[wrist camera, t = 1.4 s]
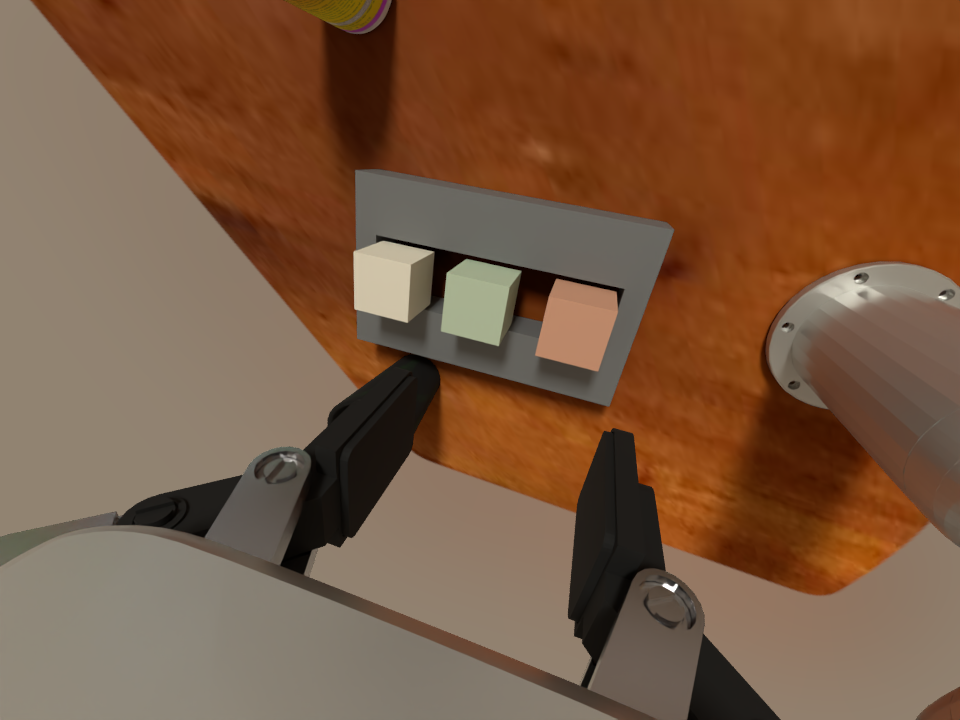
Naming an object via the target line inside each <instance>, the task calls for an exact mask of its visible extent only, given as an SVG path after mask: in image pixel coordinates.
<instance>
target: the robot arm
mask: <svg viewBox="0 0 960 720" xmlns="http://www.w3.org/2000/svg"><path fill="white" fill-rule="evenodd" d="M857 274H858V276H857V277H856V278H854V277H855V276H856V275H857ZM785 323H787V324H786V325H785V326H783V325H784V324H785ZM765 352H766V359H767V364H768V366H769V369H770V371H771V374H772V375H773V376H774V378H775V379H776V381H777V382H778V383H779V384H780V386H781V387H782V388H783V389H784V390H785V391H786V392H787V393H789V394H790V395H792V396H793V397H795V398H796V399H798V400H800V401H802V402H804V403H807V404H809V405H811V406H815V407H819V408H823V409H828V410H830V411H831V412H832V413H833V414H834V415H835V417H836V418H837V419H838V420H839V421H840V422H841V423H842V424H843V425H844V427H845V428H846V429H847V430H848V431H849V432H850V433H851V434H852V436H853V437H854V438H855V439H856V440H857V441H858V442H859V443H860V445H861V446H862V447H863V448H864V449H865V450H866V451H867V452H868V454H869V455H870V456H871V457H872V458H873V459H874V460H875V461H876V463H877V464H878V465H879V466H880V467H881V468H882V469H883V470H884V472H885V473H886V474H887V475H888V476H889V477H890V478H891V479H892V481H893V482H894V483H895V484H896V485H897V486H898V487H899V488H900V489H901V491H902V492H903V493H904V494H905V495H906V496H907V497H908V498H909V499H910V500H911V501H912V502H913V503H914V505H915V506H916V507H917V508H918V509H919V510H920V511H921V512H922V513H923V515H924V516H925V517H926V518H927V519H928V520H929V521H930V522H931V523H932V524H933V525H934V526H935V527H936V528H937V529H938V530H939V531H940V532H941V533H942V534H943V535H944V536H945V537H947V538H948V539H949V540H951V541H952V542H953V543H954V544H956V545H957V546H958V547H960V287H959V286H957V285H956V284H955V283H954V282H953V281H952V280H951V279H949V278H947V277H946V276H944V275H942V274H940V273H938V272H936V271H934V270H931V269H928V268H925V267H922V266H919V265H914V264H909V263H903V262H873V263H865V264H859V265H855V266H851V267H848V268H844V269H841V270H838V271H836V272H833V273H831V274H829V275H826V276H824V277H822V278H820V279H818V280H817V281H815V282H813V283H812V284H810V285H808V286H807V287H805V288H804V289H802V290H801V291H800V292H799V293H798V294H796V295H795V296H794V297H793V298H791V299H790V300H789V302H788V303H787V304H786V305H785V306H784V307H783V308H782V309H781V311H780V312H779V313H778V315H777V317H776V318H775V320H774V322H773V323H772V325H771V328H770V330H769V333H768V336H767V341H766V349H765ZM791 381H792V382H791ZM417 384H418V380H417V378H416V377H413V373H412V372H411V371H408V370H404V369H401V368H397V367H394V368H393V369H392V370H391V371H390V372H389V373H388V374H387V375H386V376H385V377H384V378H383V379H381V380H380V381H379V382H378V383H377V384H376V385H375V386H374V387H373V388H372V389H371V390H370V391H369V392H368V393H367V394H366V395H365V396H364V397H363V398H362V399H361V400H360V399H358V400H355V401H354V402H353V403H352V404H351V405H350V406H348V407H347V408H346V409H345V410H344V411H343V412H342V413H341V414H340V415H339V416H338V417H337V418H336V419H335V420H334V421H333V422H332V423H331V424H330V425H329V426H328V427H327V428H326V429H325V430H323V432H321V433H320V434H319V435H318V436H317V437H316V438H315V439H314V440H313V441H312V442H311V443H310V444H309V445H308V446H307V447H306V448H305V449H304V450H301V449H299V448H294V447H279V448H275V449H271V450H269V451H266V452H264V453H262V454H261V455H259V456H257V457H256V458H255V459H254V460H253V461H252V462H251V463H250V464H249V466H248V467H247V469H246V471H245V472H244V474H243V475H240V476H236V477H232V478H227V479H223V480H219V481H214V482H210V483H206V484H202V485H197V486H193V487H189V488H184V489H180V490H176V491H172V492H167V493H163V494H159V495H156V496H153V497H150V498H147V499H145V500H143V501H141V502H139V503H137V504H136V505H134V506H133V507H132V508H131V509H129V510H128V511H126V513H125V514H124V515H122V516H118V514H117V512H111V513H106V514H102V515H97V516H92V517H87V518H83V519H78V520H73V521H69V522H64V523H59V524H55V525H50V526H45V527H41V528H36V529H31V530H26V531H22V532H17V533H13V534H8V535H5V536H2V537H0V720H780V719H779V717H778V716H777V715H776V714H775V713H774V712H773V711H772V710H771V709H770V707H769V706H768V705H767V704H766V703H765V702H764V701H763V700H762V699H761V697H760V696H759V695H758V694H757V693H756V692H755V691H754V690H753V688H752V687H751V686H750V685H749V684H748V683H747V682H746V681H745V679H744V678H743V677H742V676H741V675H740V674H739V673H738V672H737V671H736V669H735V668H734V667H733V666H732V665H731V664H730V663H729V662H728V661H727V660H726V658H725V657H724V656H723V655H722V654H721V653H720V652H719V651H718V649H717V648H716V647H715V646H714V645H713V644H712V643H711V642H710V641H709V640H708V638H707V637H706V636H705V635H704V634H703V631H704V626H705V623H704V622H705V621H704V612H703V610H702V607H701V604H700V602H699V601H698V599H697V597H696V596H695V594H694V593H693V592H692V591H691V589H690V588H689V587H688V586H687V585H686V584H685V583H684V582H682V581H681V580H680V579H678V578H677V577H676V576H674V575H672V574H670V573H668V572H666V570H665V563H664V556H663V549H662V542H661V535H660V528H659V521H658V514H657V508H656V501H655V494H654V490H653V488H652V487H650V486H646V485H643V484H640V483H638V474H637V464H636V453H635V443H634V435H633V433H629V432H626V431H622V430H619V429H615V428H613V429H612V430H611V432H607V431H604V432H603V434H602V437H601V440H600V442H599V445H598V448H597V450H596V453H595V456H594V458H593V461H592V464H591V466H590V469H589V472H588V474H587V477H586V480H585V482H584V485H583V488H582V490H581V493H580V496H579V499H578V504H577V512H576V524H575V536H574V547H573V559H572V560H573V561H572V571H571V583H570V595H569V608H568V618H569V619H571V620H574V621H575V629H574V636H575V637H578V638H581V639H582V644H583V645H584V647H585V648H586V649H587V651H588V653H589V654H590V656H591V657H590V660H589V662H588V665H587V667H586V669H585V672H584V674H583V677H582V679H581V681H580V684H579V685H577V684H574V683H572V682H569V681H567V680H565V679H562V678H560V677H557V676H555V675H552V674H550V673H547V672H545V671H542V670H540V669H537V668H535V667H532V666H530V665H527V664H525V663H523V662H520V661H518V660H515V659H513V658H510V657H508V656H505V655H503V654H500V653H498V652H495V651H493V650H490V649H488V648H485V647H483V646H481V645H478V644H476V643H473V642H471V641H468V640H466V639H463V638H461V637H458V636H455V635H453V634H451V633H448V632H446V631H443V630H441V629H438V628H436V627H433V626H431V625H428V624H425V623H423V622H421V621H418V620H415V619H413V618H410V617H408V616H406V615H403V614H401V613H398V612H395V611H393V610H390V609H388V608H385V607H383V606H380V605H378V604H375V603H373V602H370V601H368V600H365V599H363V598H360V597H358V596H355V595H353V594H350V593H347V592H345V591H343V590H340V589H338V588H335V587H332V586H330V585H327V584H325V583H322V582H320V581H317V580H315V579H312V578H309V576H310V573H311V570H312V567H313V564H314V561H315V557H316V554H317V551H318V548H320V547H323V546H325V545H326V544H327V543H329V544H332V545H334V546H337V547H341V545H342V544H343V543H344V541H345V540H346V538H347V537H350V538H352V537H353V536H355V534H356V533H357V531H358V530H359V528H360V527H361V525H362V524H363V523H364V521H365V520H366V518H367V516H368V515H369V514H370V512H371V510H372V509H373V508H374V506H375V505H376V503H377V501H378V500H379V499H380V497H381V496H382V494H383V493H384V491H385V490H386V488H387V487H388V485H389V483H390V482H391V480H392V479H393V477H394V476H395V475H396V473H397V472H398V470H399V469H400V467H401V466H402V464H403V463H404V461H405V459H406V458H407V457H408V455H409V453H410V451H411V449H412V445H413V436H414V423H415V410H416V397H417ZM916 720H960V687H958V688H956V689H955V690H953V691H951V692H949V693H947V694H946V695H944V696H942V697H941V698H939V699H938V700H936V701H935V702H933V703H932V704H930V705H929V706H928V707H927V708H926V709H924V710H923V712H921V713H920V715H919V716H918V717H917V718H916Z"/></svg>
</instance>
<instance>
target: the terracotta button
mask: <svg viewBox="0 0 960 720" xmlns="http://www.w3.org/2000/svg"><path fill="white" fill-rule="evenodd" d="M617 314H618V304H617V292H616V291H611V290H606V289H602V288H597V287H593V286H588V285H584V284H579V283H575V282H570V281H565V280H561V279H556V281H555V283H554V285H553V288H552V290H551V293H550V295H549V299H548V303H547V307H546V311H545V315H544V320H543V324H542V328H541V332H540V336H539V341H538V345H537V349H536V353H535V356H539V357H543V358H547V359H551V360H555V361H559V362H563V363H566V364H570V365H574V366H578V367H582V368H586V369H590V370H594V371H598V370H599V367H600V364H601V361H602V359H603V356H604V353H605V350H606V347H607V344H608V341H609V338H610V335H611V332H612V329H613V326H614V323H615V320H616V317H617Z"/></svg>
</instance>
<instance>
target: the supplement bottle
mask: <svg viewBox="0 0 960 720" xmlns="http://www.w3.org/2000/svg"><path fill="white" fill-rule="evenodd" d="M284 1H286V2H288V3H290V4H292V5H294V6H296V7H298V8H300V9H302V10H304V11H306V12H308V13H310V14H312V15H314V16H316V17H318V18H320V19H322V20H324V21H325V22H327V23H329V24H331V25H333V26H335V27H337V28H339V29H342V30H344V31H346V32H349V33H353V34H363V33H367V32H370V31H372V30H373V29H375V28H376V27H377V26H378V25H379V24H380V23H381V22H382V21H383V19H384V18H385V16H386V14H387V12H388V10H389V7H390V4H391V1H392V0H284Z"/></svg>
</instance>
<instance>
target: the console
mask: <svg viewBox="0 0 960 720" xmlns="http://www.w3.org/2000/svg"><path fill="white" fill-rule="evenodd" d="M355 185H356V251H357V250H359V249H362V248H365V247H368V246H370V245H373V244H376V243H379V242H381V241H388V242H392V243H396V239H397V240H402V241H406V242H411V243H416V244H420V245H425V246H429V247H434V248H439V249H443V250H448V251H452V252H457V253H462V254H466V255H471V256H475V257H480V258H485V259H489V260H494V261H498V262H503V263H508V264H512V265H517V266H521V267H526V268H531V269H535V270H540V271H544V272H549V273H554V274H558V275H563V276H567V277H572V278H577V279H581V280H586V281H591V282H595V283H600V284H604V285H609V286H614V287H618V288H619V290H618V293H617V304H618V314H617V317H616V320H615V323H614V326H613V329H612V332H611V335H610V338H609V341H608V344H607V347H606V350H605V353H604V356H603V359H602V361H601V364H600V367H599V370H598V371H594V370H590V369H586V368H582V367H578V366H574V365H570V364H566V363H563V362H559V361H555V360H551V359H547V358H543V357H539V356H535V353H536V349H537V345H538V341H539V336H540V332H541V328H542V324H543V322H540V321H536V320H532V319H528V318H524V317H520V316H515V315H513V318H512V323H511V326H510V327H509V329H508V331H507V333H506V334H505V336H504V338H503V340H502V341H501V343H500V345H499V346H496V345H492V344H488V343H484V342H481V341H477V340H473V339H469V338H465V337H461V336H457V335H453V334H449V333H445V332H442V331H441V325H442V315H443V306H444V298H440V297H436V296H432V295H431V301H430V305H429V306H427V307H426V308H425V309H424V310H423V311H421V312H420V313H419V314H418V315H416V316H415V317H414V318H413V319H412V320H410V321H409V322H408V323H406V322H402V321H399V320H395V319H391V318H387V317H383V316H379V315H375V314H371V313H367V312H363V311H360V310H357V339H361V340H364V341H368V342H372V343H376V344H379V345H383V346H387V347H390V348H394V349H398V350H401V351H405V352H409V353H413V354H416V355H420V356H424V357H427V358H431V359H435V360H438V361H442V362H446V363H450V364H453V365H457V366H461V367H464V368H468V369H472V370H475V371H479V372H483V373H487V374H490V375H494V376H498V377H501V378H505V379H509V380H512V381H516V382H520V383H524V384H527V385H531V386H535V387H538V388H542V389H546V390H549V391H553V392H557V393H561V394H564V395H568V396H572V397H575V398H579V399H583V400H586V401H590V402H594V403H598V404H601V405H605V406H610V403H611V400H612V397H613V395H614V392H615V389H616V387H617V384H618V381H619V378H620V376H621V373H622V370H623V368H624V365H625V362H626V360H627V357H628V354H629V351H630V349H631V346H632V343H633V341H634V338H635V335H636V332H637V330H638V327H639V324H640V322H641V319H642V316H643V313H644V311H645V308H646V305H647V303H648V300H649V297H650V295H651V292H652V289H653V286H654V284H655V281H656V278H657V276H658V273H659V270H660V267H661V265H662V262H663V259H664V257H665V254H666V251H667V249H668V246H669V243H670V240H671V238H672V235H673V232H674V229H673V228H672V227H671V226H670V225H669V224H668V223H667V222H662V221H657V220H651V219H646V218H640V217H635V216H630V215H624V214H619V213H613V212H608V211H603V210H597V209H592V208H586V207H581V206H575V205H570V204H565V203H559V202H554V201H548V200H543V199H538V198H532V197H527V196H521V195H516V194H511V193H505V192H500V191H494V190H489V189H484V188H478V187H473V186H467V185H462V184H457V183H451V182H446V181H440V180H435V179H430V178H424V177H419V176H413V175H408V174H402V173H397V172H392V171H386V170H381V169H369V170H355Z"/></svg>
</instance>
